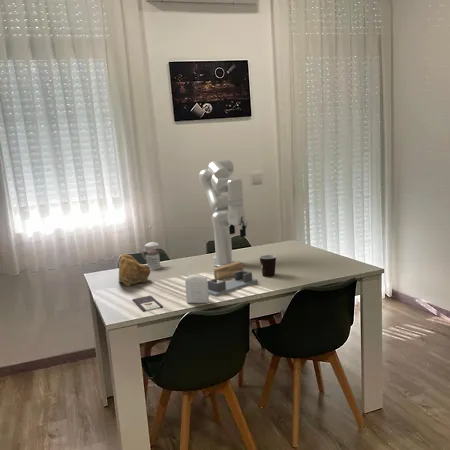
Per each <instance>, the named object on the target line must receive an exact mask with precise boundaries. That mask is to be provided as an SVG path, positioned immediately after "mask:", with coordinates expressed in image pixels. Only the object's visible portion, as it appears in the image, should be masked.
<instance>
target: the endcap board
mask: <svg viewBox="0 0 450 450" xmlns="http://www.w3.org/2000/svg"><path fill="white" fill-rule="evenodd" d="M233 277H234V279H231V280H228V281H225V280H223V281H218V280H217V279H215V278H213V279H209V280H207V281H208V294H209V295H210V296H213V297H218V296H222V295H223V294H227V293H230V292H233V291H235V290H238V289H241V288H244V287H247V286H249V285H253V284H256V283H258V282H259V281H258V279H256V278H253V273H252V272H250V271H247V270H246V271H245V270H244V269H243V270H241V271H238V272H234V276H233Z"/></svg>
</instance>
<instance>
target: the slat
mask: <svg viewBox="0 0 450 450" xmlns="http://www.w3.org/2000/svg"><path fill="white" fill-rule="evenodd" d="M243 266H244V265H243V261H239V260H237V261H235V262H234V263H231V264H228V265H224V266H221V267H215V268H213V276H214V279H217V281H221V280H223V279H227V277H228V278H230V276H231V277H234V272H238V271H241V270H243V271H244V267H243Z"/></svg>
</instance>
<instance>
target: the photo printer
mask: <svg viewBox="0 0 450 450" xmlns="http://www.w3.org/2000/svg"><path fill="white" fill-rule="evenodd" d="M208 281H209V280H208V277H206V276H204V275H196V274H194V275H189V276H187V277H186V278H185V281H184V282H185V283H184V284H185V295H186V296H185V297H186V299H185V300H186V303H187V304H208V303H209V301H210V298H209V294H208Z"/></svg>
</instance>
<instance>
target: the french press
mask: <svg viewBox="0 0 450 450" xmlns="http://www.w3.org/2000/svg"><path fill="white" fill-rule="evenodd" d="M152 228H153V227H152V226H151V225H149V226H148V229H149V230H150V231H149V232H150V234H152V233H151V229H152ZM158 246H159V243H158V242H154V241H152V239H150V242H147V243H146V244H144V247H143V248H142V249H141V252H142V254H141V256H142V258H143V259H144V260H146V265H147V266H148V267H149V268H150V271H151V270H158V269H161V268H162V267H163V266H162V265H161V261H160V260H161V259H160V253H159V250H158V249H151V250H147V248H153V247H154V248H155V247H158ZM145 250H147V251H146V254H145V253H144V251H145Z"/></svg>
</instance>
